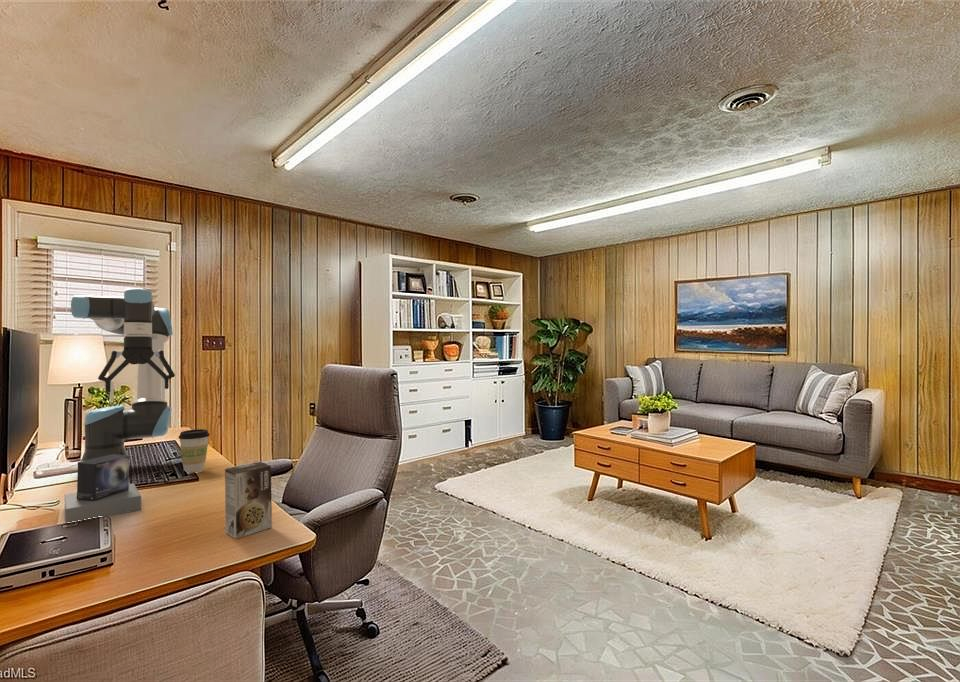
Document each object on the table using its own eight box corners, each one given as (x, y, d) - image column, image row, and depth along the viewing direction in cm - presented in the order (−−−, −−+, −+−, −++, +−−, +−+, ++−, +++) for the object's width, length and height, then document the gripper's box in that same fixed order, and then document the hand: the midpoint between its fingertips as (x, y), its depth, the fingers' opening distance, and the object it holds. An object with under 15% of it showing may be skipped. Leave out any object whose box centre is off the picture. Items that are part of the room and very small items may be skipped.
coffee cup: (184, 477, 165) (184, 434, 166) (173, 472, 171) (173, 431, 172) (214, 471, 173) (214, 430, 173) (202, 467, 179) (202, 428, 179)
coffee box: (260, 522, 124) (260, 461, 124) (272, 528, 119) (272, 464, 120) (224, 532, 116) (224, 468, 117) (235, 539, 112) (235, 472, 112)
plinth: (64, 508, 134) (64, 494, 134) (133, 496, 145) (133, 483, 145) (65, 524, 122) (66, 509, 122) (140, 509, 133) (140, 495, 133)
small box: (94, 501, 128) (94, 463, 128) (75, 500, 129) (75, 462, 129) (130, 489, 138) (130, 454, 138) (112, 488, 140) (112, 453, 140)
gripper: (89, 335, 142) (89, 405, 142) (184, 336, 159) (184, 398, 159) (87, 335, 148) (87, 402, 147) (180, 336, 164) (180, 396, 164)
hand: (137, 400), depth 153 cm, fingers open, 13 cm apart
